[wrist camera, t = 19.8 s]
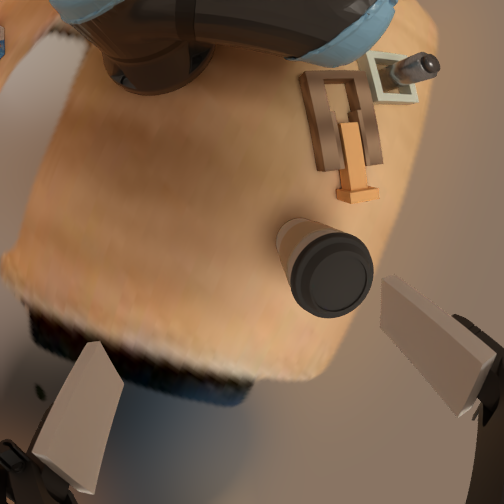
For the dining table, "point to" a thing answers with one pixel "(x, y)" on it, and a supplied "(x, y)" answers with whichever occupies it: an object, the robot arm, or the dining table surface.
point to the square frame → (378, 97)
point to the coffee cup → (324, 267)
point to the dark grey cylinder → (409, 71)
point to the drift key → (353, 167)
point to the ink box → (2, 42)
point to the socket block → (325, 120)
